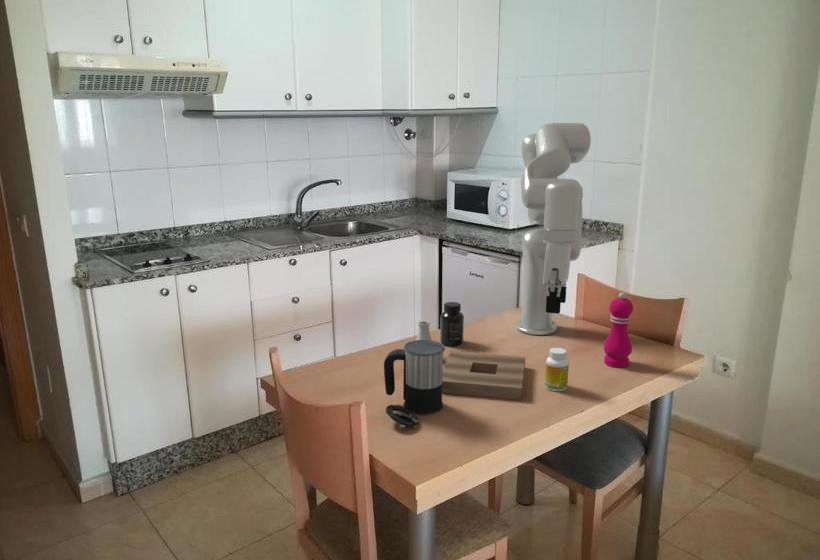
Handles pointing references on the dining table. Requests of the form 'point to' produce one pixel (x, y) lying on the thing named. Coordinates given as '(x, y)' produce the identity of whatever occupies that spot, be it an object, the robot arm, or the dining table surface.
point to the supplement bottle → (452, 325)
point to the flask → (423, 331)
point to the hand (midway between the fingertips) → (555, 307)
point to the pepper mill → (619, 333)
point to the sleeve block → (484, 375)
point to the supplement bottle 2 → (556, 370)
